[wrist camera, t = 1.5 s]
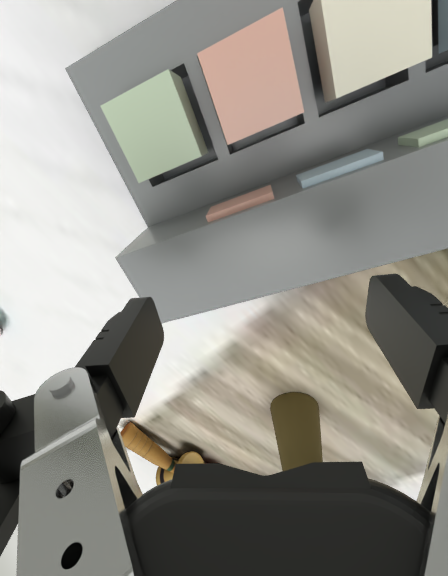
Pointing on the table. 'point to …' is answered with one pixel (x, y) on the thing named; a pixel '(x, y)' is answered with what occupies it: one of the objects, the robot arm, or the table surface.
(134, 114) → the key sage
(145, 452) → the kendama
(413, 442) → the table surface
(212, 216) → the keypad
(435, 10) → the key blue
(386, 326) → the robot arm
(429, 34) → the key cream
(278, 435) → the olive ball-ended cylinder
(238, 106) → the key coral
